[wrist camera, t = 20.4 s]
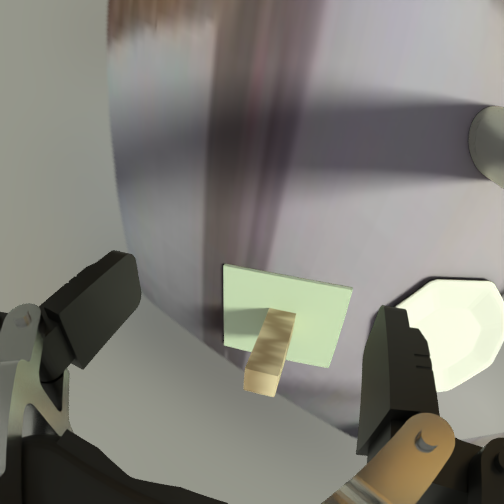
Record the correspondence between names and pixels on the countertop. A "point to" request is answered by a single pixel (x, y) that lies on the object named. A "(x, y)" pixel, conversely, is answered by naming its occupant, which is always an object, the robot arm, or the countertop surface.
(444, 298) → the plate
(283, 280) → the mat
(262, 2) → the countertop surface
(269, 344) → the wooden block
